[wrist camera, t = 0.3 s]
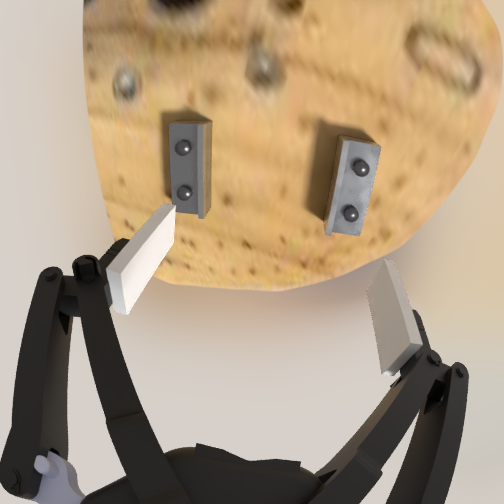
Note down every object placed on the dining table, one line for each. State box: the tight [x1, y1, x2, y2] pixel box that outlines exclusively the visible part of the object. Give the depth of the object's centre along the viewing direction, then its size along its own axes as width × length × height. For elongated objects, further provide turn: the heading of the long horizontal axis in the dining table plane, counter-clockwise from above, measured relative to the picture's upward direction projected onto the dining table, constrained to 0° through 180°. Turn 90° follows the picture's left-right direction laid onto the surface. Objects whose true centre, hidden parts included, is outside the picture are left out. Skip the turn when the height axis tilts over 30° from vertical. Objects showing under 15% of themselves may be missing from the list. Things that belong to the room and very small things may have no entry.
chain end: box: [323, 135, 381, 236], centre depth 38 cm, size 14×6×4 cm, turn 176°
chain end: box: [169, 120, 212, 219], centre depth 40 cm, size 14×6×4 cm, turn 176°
